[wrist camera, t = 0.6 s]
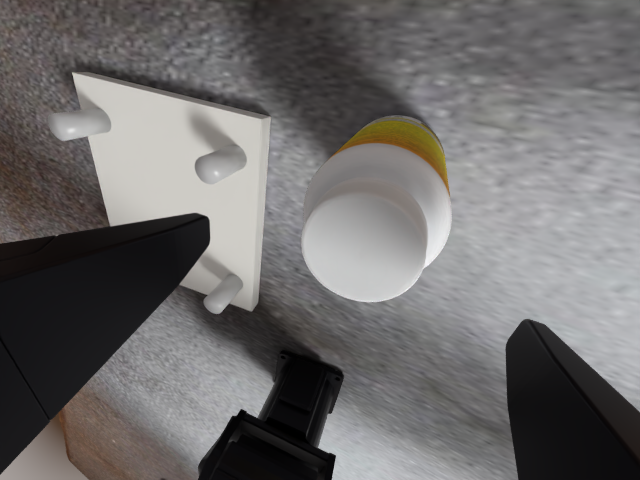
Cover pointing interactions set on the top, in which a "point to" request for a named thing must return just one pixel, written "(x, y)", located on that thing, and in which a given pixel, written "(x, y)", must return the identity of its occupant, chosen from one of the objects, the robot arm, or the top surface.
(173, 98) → the pin tray
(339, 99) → the top surface
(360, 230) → the supplement bottle
